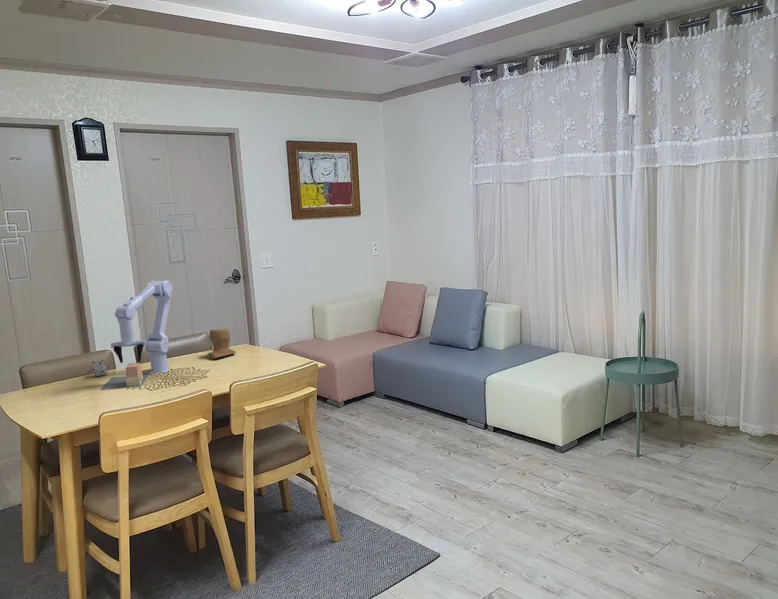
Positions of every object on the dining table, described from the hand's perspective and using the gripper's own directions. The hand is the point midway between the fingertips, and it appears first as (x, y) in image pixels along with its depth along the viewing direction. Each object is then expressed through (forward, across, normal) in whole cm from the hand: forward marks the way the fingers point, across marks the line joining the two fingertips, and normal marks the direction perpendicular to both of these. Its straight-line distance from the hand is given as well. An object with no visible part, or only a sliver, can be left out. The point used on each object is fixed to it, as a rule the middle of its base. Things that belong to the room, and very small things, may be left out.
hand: (130, 361), depth 277 cm
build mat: (+9, -3, -1) cm, 10 cm away
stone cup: (+10, +37, +36) cm, 53 cm away
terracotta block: (+5, +2, -6) cm, 8 cm away
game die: (+10, -18, +16) cm, 26 cm away
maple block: (+9, +2, -6) cm, 11 cm away
